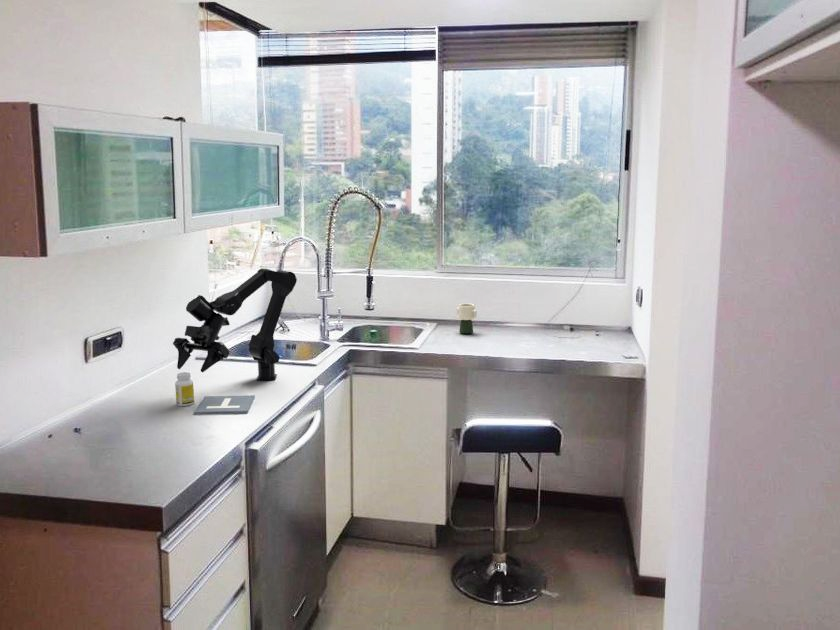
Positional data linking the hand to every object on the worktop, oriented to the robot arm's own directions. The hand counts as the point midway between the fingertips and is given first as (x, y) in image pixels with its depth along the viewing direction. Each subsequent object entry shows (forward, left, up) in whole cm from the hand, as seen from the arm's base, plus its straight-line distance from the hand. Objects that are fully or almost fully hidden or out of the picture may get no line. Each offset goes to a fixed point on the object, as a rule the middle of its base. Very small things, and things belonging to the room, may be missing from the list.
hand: (189, 370), depth 243 cm
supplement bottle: (+3, -1, -10) cm, 11 cm away
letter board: (+6, +12, -10) cm, 17 cm away
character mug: (-93, +101, -10) cm, 137 cm away
